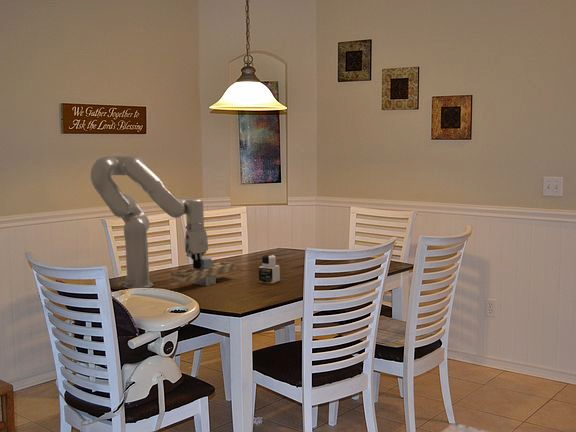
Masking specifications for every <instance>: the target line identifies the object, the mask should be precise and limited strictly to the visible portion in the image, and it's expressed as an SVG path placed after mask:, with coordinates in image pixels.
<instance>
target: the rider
mask: <svg viewBox="0 0 576 432" xmlns="http://www.w3.org/2000/svg"><path fill="white" fill-rule="evenodd" d="M200 260H201V268H200V269H197V270H205V269H207V268H212V264H213V263H212V258H210V257H202V259H200Z"/></svg>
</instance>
